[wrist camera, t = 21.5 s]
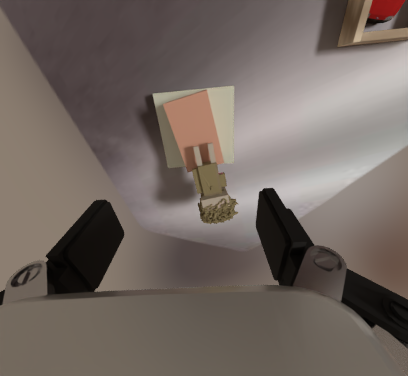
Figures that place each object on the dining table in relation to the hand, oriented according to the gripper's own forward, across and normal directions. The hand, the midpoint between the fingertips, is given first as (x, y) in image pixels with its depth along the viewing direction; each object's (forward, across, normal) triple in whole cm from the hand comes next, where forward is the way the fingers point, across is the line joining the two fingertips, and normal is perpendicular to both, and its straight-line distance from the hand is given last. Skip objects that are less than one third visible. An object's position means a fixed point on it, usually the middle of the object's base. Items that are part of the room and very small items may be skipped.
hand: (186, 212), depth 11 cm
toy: (+19, -1, +2) cm, 19 cm away
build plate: (+27, 0, +2) cm, 27 cm away
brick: (+25, 0, +1) cm, 25 cm away
